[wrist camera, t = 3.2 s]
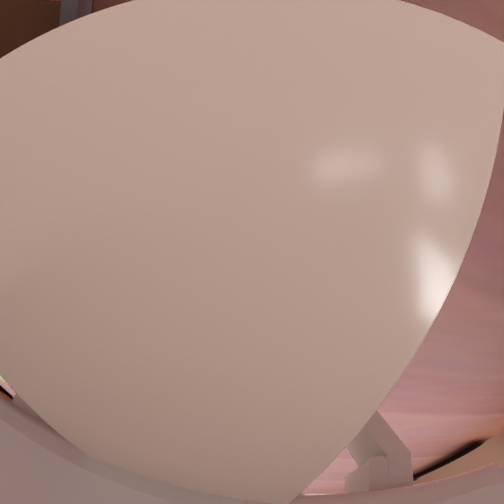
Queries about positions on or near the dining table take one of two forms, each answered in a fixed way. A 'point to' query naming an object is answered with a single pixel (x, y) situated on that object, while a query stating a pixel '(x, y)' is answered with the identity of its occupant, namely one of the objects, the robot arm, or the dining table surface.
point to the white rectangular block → (235, 225)
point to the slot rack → (35, 19)
